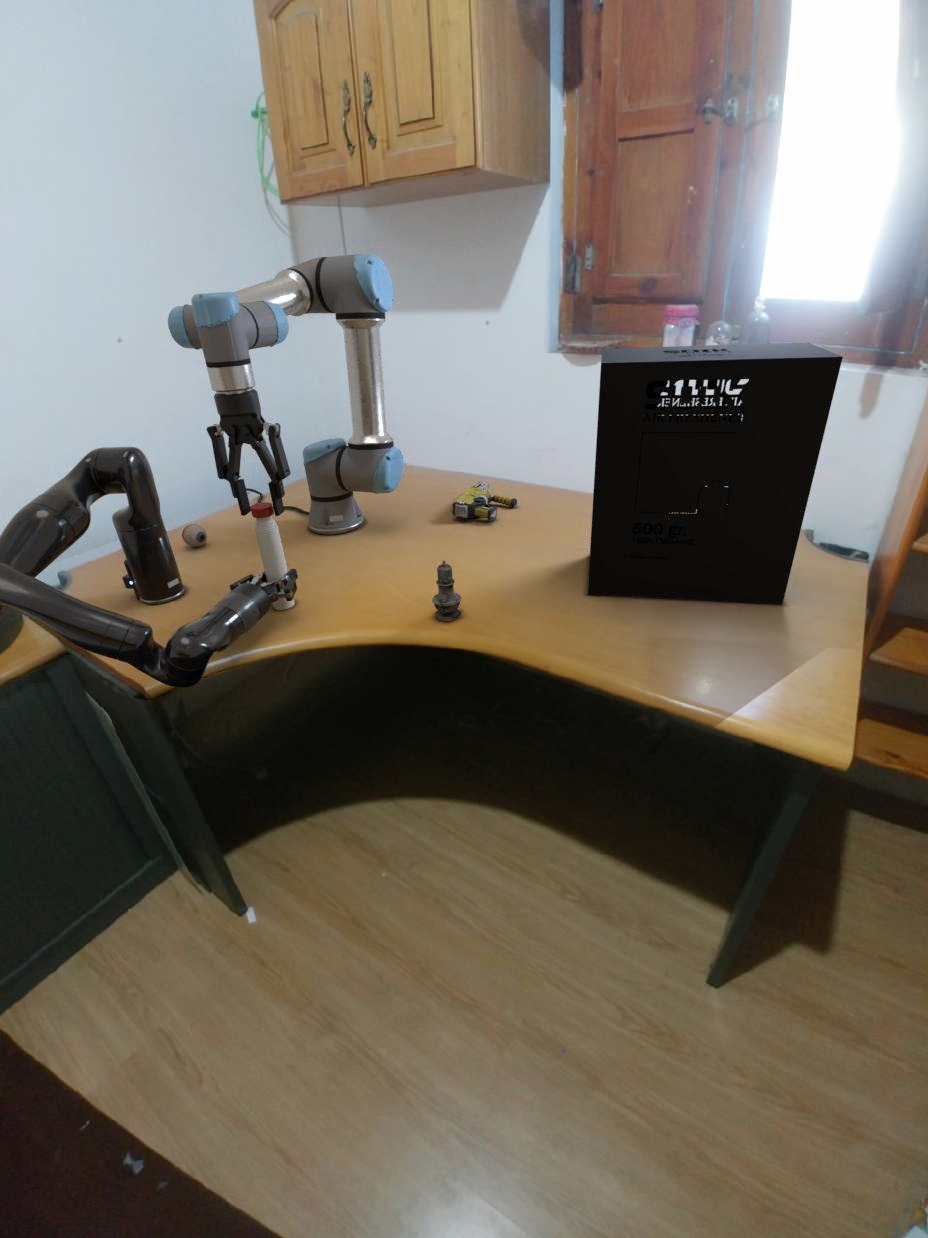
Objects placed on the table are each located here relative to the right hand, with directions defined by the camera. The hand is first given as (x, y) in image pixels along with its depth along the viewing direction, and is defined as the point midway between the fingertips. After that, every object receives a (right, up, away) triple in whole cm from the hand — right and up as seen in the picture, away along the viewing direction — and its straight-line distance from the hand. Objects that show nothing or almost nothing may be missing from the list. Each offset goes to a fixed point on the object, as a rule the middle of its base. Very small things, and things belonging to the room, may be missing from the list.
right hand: (263, 513), depth 119 cm
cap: (0, +1, -1) cm, 1 cm away
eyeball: (-31, -2, +42) cm, 52 cm away
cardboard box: (+86, -12, +12) cm, 88 cm away
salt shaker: (+37, -20, +3) cm, 42 cm away
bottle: (+1, -18, +10) cm, 21 cm away
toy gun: (+47, +11, +56) cm, 74 cm away
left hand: (+1, -11, +9) cm, 14 cm away
